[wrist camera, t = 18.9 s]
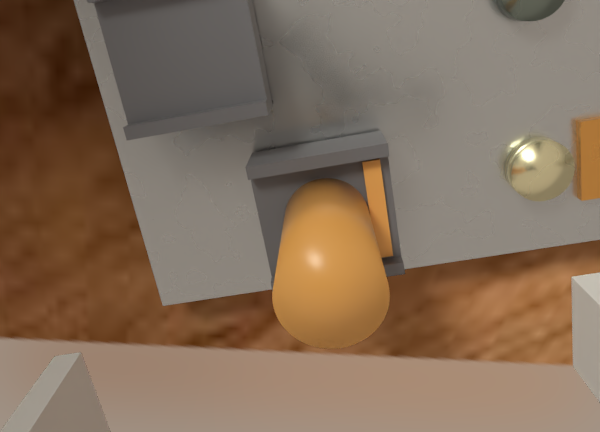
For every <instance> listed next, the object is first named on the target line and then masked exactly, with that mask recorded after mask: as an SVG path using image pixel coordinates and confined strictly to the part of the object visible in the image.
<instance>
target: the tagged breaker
mask: <svg viewBox="0 0 600 432" xmlns="http://www.w3.org/2000/svg"><path fill="white" fill-rule="evenodd" d="M388 156H389V148H388V143H387V141H386V139H385V137H384V136H383V134H382V132H381V131H375V132H369V133H363V134H357V135H352V136H346V137H340V138H334V139H329V140H323V141H317V142H311V143H305V144H300V145H294V146H288V147H282V148H276V149H271V150H265V151H259V152H253V153H252V154H251V156H250V158H249V161H248V163H247V165H246V167H245V168H246V173H247V177H248V180H251V184H252V188H253V193H254V198H255V202H256V207H257V211H258V216H259V221H260V225H261V230H262V234H263V239H264V244H265V248H266V253H267V257H268V262H269V267H270V271H271V276H272V277H271V287H272V292H273V285H274V279H275V273H276V266H277V260H278V254H279V247H280V241H281V235H282V228H283V222H284V216H285V210H286V206H287V204H288V201H289V199H290V198H291V196H292V195H293V194H294V192H295V191H296V190H297V189H299V188H300V187H301V186H302V185H304V184H306V183H308V182H310V181H313V180H316V179H321V178H333V179H338V180H342V181H344V182H347V183H348V184H350V185H352V186H353V187H354V188H356V189H357V190H358V191H359V192H360V194H361V195H362V196H363V198H364V200H365V201H366V204H367V207H368V210H369V214H370V218H371V221H372V225H373V229H374V232H375V236H376V240H377V243H378V247H379V251H380V255H381V258H382V262H383V266H384V269H385V273H386V277H388V276H395V275H402V274H405V270H404V262H403V260H402V257H401V250H400V242H399V235H398V227H397V220H396V212H395V204H394V197H393V189H392V182H391V174H390V167H389V159H388Z"/></svg>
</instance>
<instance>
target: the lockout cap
mask: <svg viewBox="0 0 600 432" xmlns="http://www.w3.org/2000/svg"><path fill="white" fill-rule="evenodd" d="M272 301H273V307H274V311H275V314H276V316H277V318H278V320H279V322H280V323H281V325H282V326H283V327H284V329H285V330H286V331H287V332H288V333H289V334H290V335H292V336H293V337H294V338H296V339H297V340H299V341H301V342H303V343H305V344H307V345H310V346H313V347H317V348H324V349H338V348H344V347H349V346H352V345H355V344H357V343H359V342H361V341H363V340H364V339H366V338H368V337H369V336H370V335H371V334H373V333H374V332H375V331H376V330H377V329H378V327H379V326H380V325H381V323H382V322H383V320H384V318H385V316H386V314H387V311H388V308H389V303H390V289H389V284H388V280H387V277H386V273H385V269H384V266H383V262H382V258H381V255H380V251H379V247H378V243H377V240H376V236H375V232H374V229H373V225H372V221H371V218H370V214H369V210H368V207H367V204H366V201H365V200H364V198H363V196H362V195H361V194H360V192H359V191H358V190H357V189H356V188H354V187H353V186H352V185H350V184H348V183H347V182H344V181H342V180H338V179H333V178H321V179H316V180H313V181H310V182H308V183H306V184H304V185H302V186H301V187H300V188H299V189H297V190H296V191H295V192H294V194H293V195H292V196H291V198H290V199H289V201H288V204H287V206H286V210H285V216H284V222H283V228H282V235H281V241H280V247H279V254H278V260H277V266H276V273H275V279H274V285H273V292H272Z"/></svg>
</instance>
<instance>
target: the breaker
mask: <svg viewBox="0 0 600 432" xmlns="http://www.w3.org/2000/svg"><path fill="white" fill-rule="evenodd" d="M87 3H94V5H95V9H96V13H97V16H98V20H99V23H100V27H101V30H102V34H103V37H104V41H105V44H106V48H107V52H108V55H109V59H110V62H111V66H112V69H113V73H114V76H115V80H116V84H117V87H118V91H119V94H120V98H121V101H122V105H123V108H124V112H125V116H126V119H127V123H128V125H126V126H124V127H123V129H124V132H125V136H126V140H133V139H138V138H144V137H150V136H155V135H161V134H166V133H172V132H178V131H183V130H189V129H194V128H200V127H206V126H211V125H217V124H223V123H228V122H234V121H239V120H245V119H251V118H256V117H262V116H267V115H269V113H270V111H271V109H272V107H273V103H272V98H271V93H270V88H269V82H268V77H267V72H266V67H265V62H264V57H263V52H262V46H261V41H260V36H259V31H258V26H257V21H256V16H255V11H254V5H253V0H87Z"/></svg>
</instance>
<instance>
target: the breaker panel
mask: <svg viewBox="0 0 600 432" xmlns="http://www.w3.org/2000/svg"><path fill="white" fill-rule="evenodd" d="M74 3H75V7H76V10H77V14H78V17H79V21H80V24H81V27H82V31H83V34H84V38H85V41H86V45H87V48H88V51H89V55H90V58H91V62H92V65H93V69H94V72H95V75H96V79H97V82H98V86H99V89H100V92H101V96H102V99H103V103H104V106H105V110H106V113H107V116H108V120H109V123H110V127H111V130H112V134H113V137H114V140H115V144H116V147H117V151H118V154H119V158H120V161H121V164H122V168H123V171H124V175H125V178H126V182H127V185H128V188H129V192H130V195H131V199H132V202H133V205H134V209H135V212H136V216H137V219H138V223H139V226H140V229H141V233H142V236H143V240H144V243H145V247H146V250H147V253H148V257H149V260H150V264H151V267H152V271H153V274H154V277H155V281H156V284H157V288H158V291H159V294H160V298H161V301H162V305H163V306H166V305H172V304H179V303H185V302H192V301H199V300H205V299H212V298H218V297H225V296H232V295H238V294H245V293H251V292H258V291H264V290H271V289H272V287H271V277H272V276H271V271H270V267H269V262H268V257H267V253H266V248H265V244H264V239H263V234H262V230H261V225H260V221H259V216H258V211H257V207H256V202H255V198H254V193H253V188H252V184H251V180H248V177H247V173H246V168H245V167H246V165H247V163H248V161H249V158H250V156H251V154H252V153H253V152H259V151H265V150H271V149H276V148H282V147H288V146H294V145H300V144H305V143H311V142H317V141H323V140H329V139H334V138H340V137H346V136H352V135H357V134H363V133H369V132H375V131H381V132H382V134H383V136H384V137H385V139H386V141H387V143H388V148H389V156H388V159H389V167H390V174H391V182H392V189H393V197H394V204H395V212H396V220H397V227H398V235H399V242H400V250H401V257H402V260H403V262H404V269H409V268H416V267H423V266H429V265H436V264H442V263H449V262H456V261H462V260H469V259H475V258H482V257H489V256H495V255H502V254H508V253H515V252H522V251H528V250H535V249H541V248H548V247H555V246H561V245H568V244H574V243H581V242H587V241H594V240H600V0H253V5H254V11H255V16H256V21H257V26H258V31H259V36H260V41H261V46H262V52H263V57H264V62H265V67H266V72H267V77H268V82H269V88H270V93H271V98H272V103H273V107H272V109H271V111H270V113H269V115H267V116H262V117H256V118H251V119H245V120H239V121H234V122H228V123H223V124H217V125H211V126H206V127H200V128H194V129H189V130H183V131H178V132H172V133H166V134H161V135H155V136H150V137H144V138H138V139H133V140H126V136H125V132H124V129H123V127H124V126H126V125H128V123H127V119H126V116H125V112H124V108H123V105H122V101H121V98H120V94H119V91H118V87H117V84H116V80H115V76H114V73H113V69H112V66H111V62H110V59H109V55H108V52H107V48H106V44H105V41H104V37H103V34H102V30H101V27H100V23H99V20H98V16H97V13H96V9H95V5H94V3H87V0H74Z"/></svg>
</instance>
